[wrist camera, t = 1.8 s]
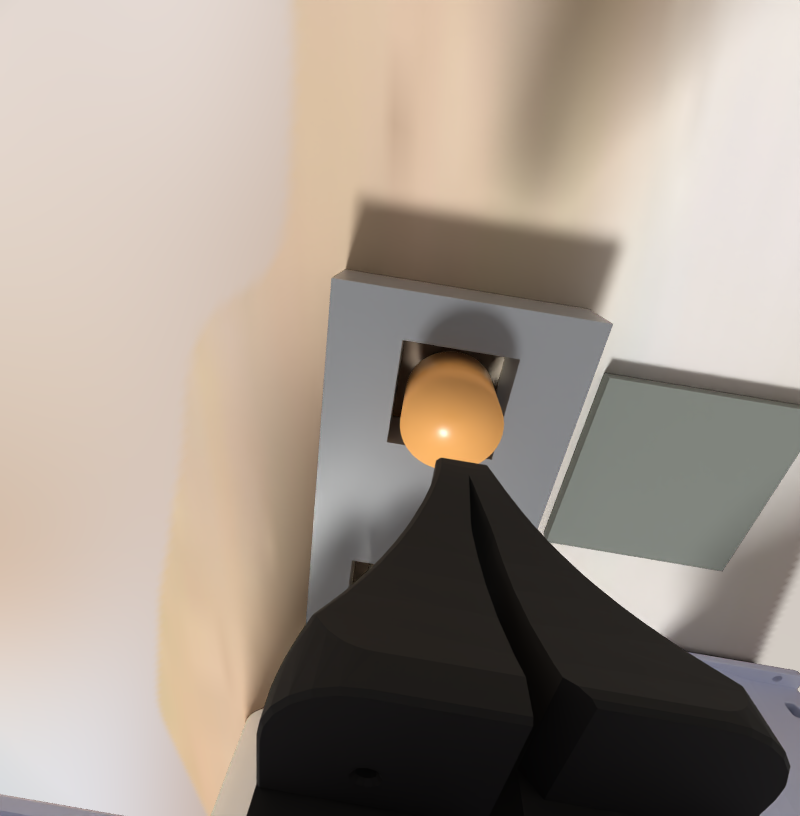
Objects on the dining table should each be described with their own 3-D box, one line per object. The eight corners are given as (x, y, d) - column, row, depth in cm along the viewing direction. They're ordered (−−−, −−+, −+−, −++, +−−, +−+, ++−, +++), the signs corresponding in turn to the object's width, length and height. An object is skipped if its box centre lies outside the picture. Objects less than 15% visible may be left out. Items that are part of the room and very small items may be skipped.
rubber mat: (813, 407, 18) (825, 413, 17) (715, 562, 22) (722, 571, 21) (604, 372, 18) (609, 377, 18) (543, 533, 22) (546, 541, 21)
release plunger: (503, 359, 17) (515, 388, 14) (482, 437, 18) (490, 477, 15) (412, 344, 17) (408, 370, 14) (399, 424, 18) (393, 461, 15)
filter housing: (589, 309, 17) (613, 324, 15) (471, 657, 26) (474, 699, 24) (345, 269, 17) (331, 277, 15) (313, 631, 27) (302, 670, 24)
